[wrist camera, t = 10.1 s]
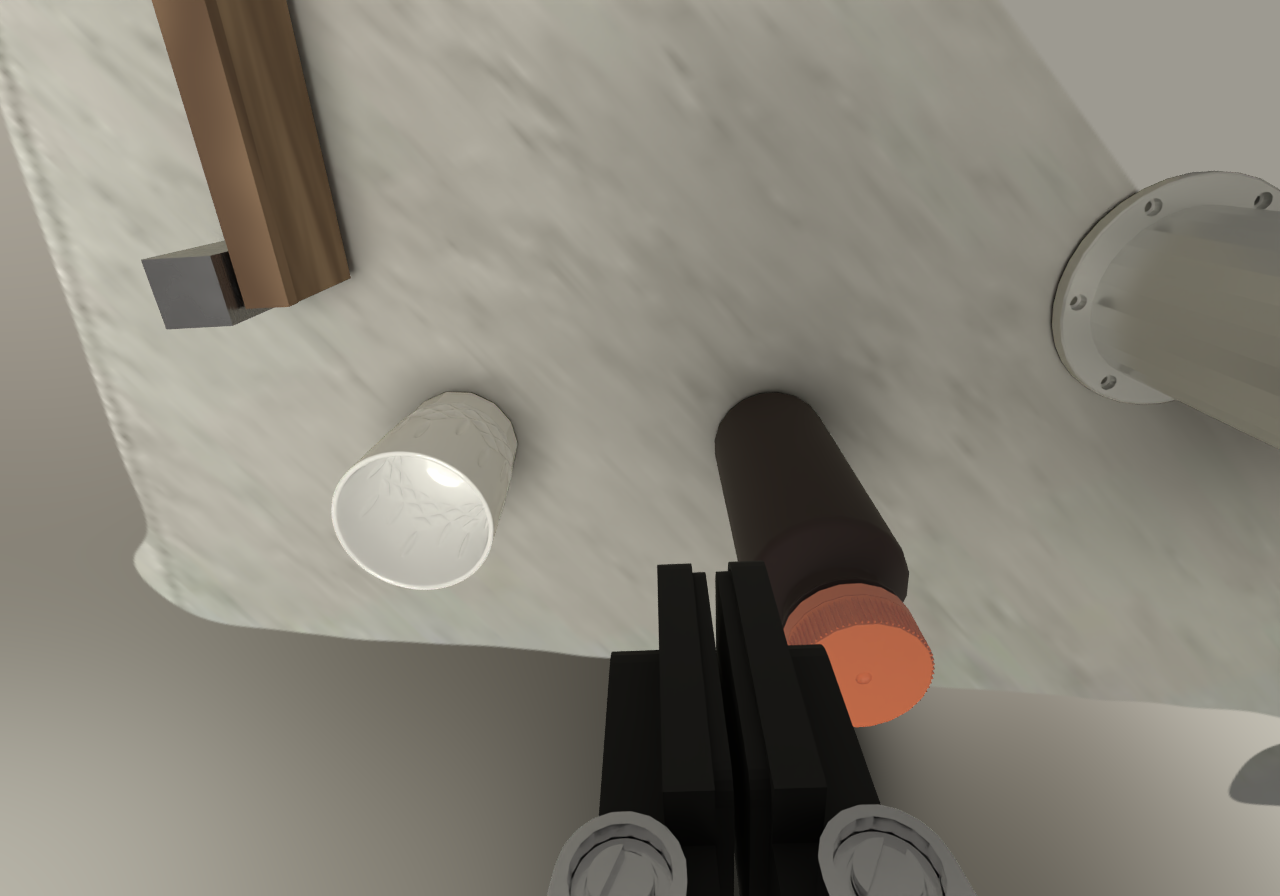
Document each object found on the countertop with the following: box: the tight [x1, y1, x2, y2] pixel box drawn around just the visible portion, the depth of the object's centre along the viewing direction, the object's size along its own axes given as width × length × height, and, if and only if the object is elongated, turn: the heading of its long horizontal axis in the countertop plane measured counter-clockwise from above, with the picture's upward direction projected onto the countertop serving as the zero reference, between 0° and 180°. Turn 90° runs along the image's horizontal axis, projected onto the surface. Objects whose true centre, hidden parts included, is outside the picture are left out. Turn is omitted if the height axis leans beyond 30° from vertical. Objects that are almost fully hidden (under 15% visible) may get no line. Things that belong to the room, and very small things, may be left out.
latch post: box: [141, 241, 274, 329], centre depth 32 cm, size 3×3×9 cm
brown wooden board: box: [152, 0, 351, 309], centre depth 29 cm, size 2×16×7 cm, turn 3°
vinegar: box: [715, 392, 935, 727], centre depth 32 cm, size 7×7×20 cm
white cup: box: [331, 392, 517, 590], centre depth 37 cm, size 8×8×10 cm
